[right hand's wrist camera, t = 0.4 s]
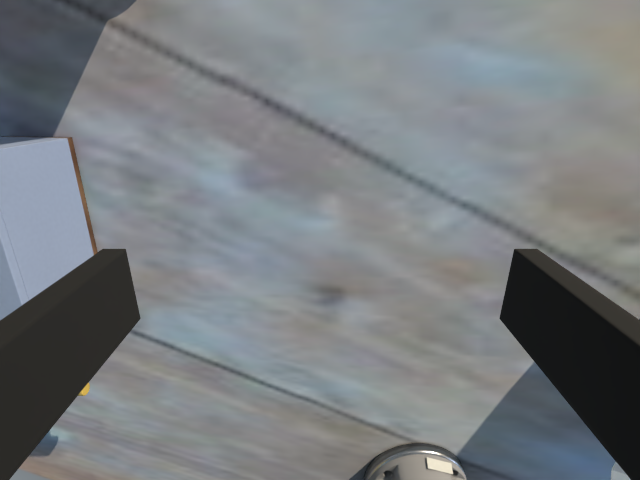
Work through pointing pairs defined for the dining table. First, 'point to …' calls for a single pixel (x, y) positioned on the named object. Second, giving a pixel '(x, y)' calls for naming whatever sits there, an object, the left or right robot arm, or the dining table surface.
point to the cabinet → (40, 217)
